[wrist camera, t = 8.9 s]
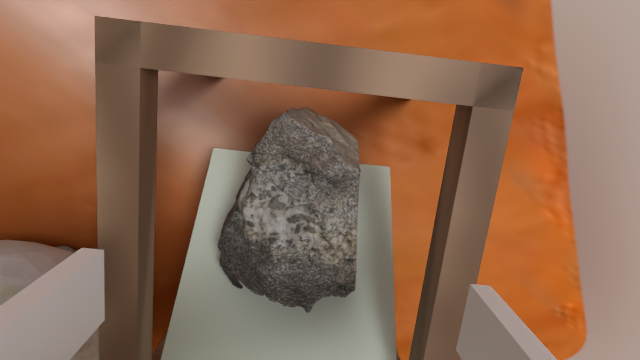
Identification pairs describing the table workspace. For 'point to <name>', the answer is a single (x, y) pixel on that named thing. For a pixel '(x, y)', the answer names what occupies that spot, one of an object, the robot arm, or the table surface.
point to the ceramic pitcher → (36, 277)
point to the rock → (296, 213)
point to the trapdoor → (271, 317)
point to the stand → (298, 70)
